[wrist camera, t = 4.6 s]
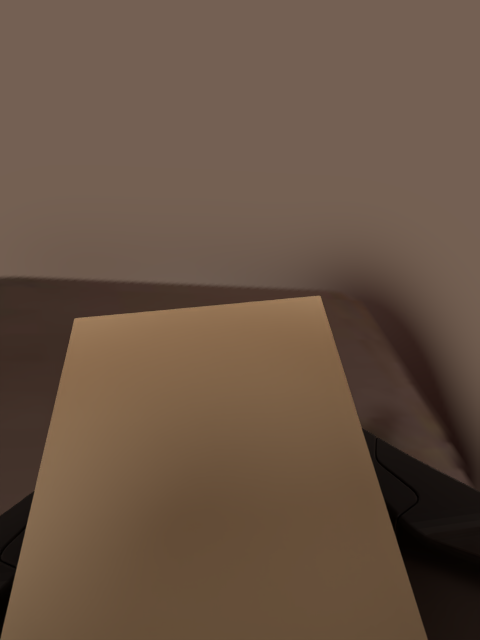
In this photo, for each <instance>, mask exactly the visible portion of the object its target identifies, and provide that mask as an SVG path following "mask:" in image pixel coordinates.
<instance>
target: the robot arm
mask: <svg viewBox="0 0 480 640" xmlns="http://www.w3.org/2000/svg"><path fill="white" fill-rule="evenodd" d="M362 431H363V434H364V437H365V441H366V444H367V447H368V450H369V453H370V457H371V460H372V463H373V466H374V469H375V473H376V476H377V479H378V482H379V485H380V489H381V492H382V495H383V498H384V501H385V504H386V508H387V511H388V514H389V517H390V520H391V524H392V527H393V530H394V533H395V536H396V540H397V543H398V546H399V549H400V552H401V556H402V559H403V562H404V565H405V568H406V572H407V575H408V578H409V581H410V584H411V588H412V591H413V594H414V597H415V600H416V604H417V607H418V610H419V613H420V616H421V620H422V623H423V626H424V629H425V632H426V636H427V639H428V640H480V491H478V490H476V489H474V488H472V487H470V486H468V485H466V484H464V483H462V482H460V481H458V480H456V479H454V478H452V477H450V476H448V475H446V474H444V473H442V472H440V471H438V470H436V469H434V468H432V467H430V466H428V465H427V464H425V463H423V462H421V461H419V460H417V459H415V458H413V457H411V456H409V455H408V454H406V453H404V452H402V451H401V450H399V449H397V448H395V447H394V446H392V445H390V444H388V443H387V442H385V441H383V440H382V439H380V438H377V439H376V436H375V435H373V434H371V433H370V432H368V431H366V430H365V429H363V428H362ZM34 492H35V491H33V492H32V493H31V494H29V495H28V496H27V497H25V498H24V499H23V500H21V501H20V502H19V503H17V504H16V505H15V506H13V507H12V508H11V509H9V510H8V511H6V512H5V513H4V514H2V515H1V516H0V638H1V634H2V630H3V625H4V621H5V617H6V612H7V608H8V604H9V599H10V595H11V591H12V586H13V582H14V578H15V574H16V569H17V565H18V561H19V556H20V552H21V548H22V543H23V539H24V535H25V530H26V526H27V522H28V518H29V513H30V509H31V505H32V500H33V496H34Z"/></svg>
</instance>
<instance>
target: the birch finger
mask: <svg viewBox="0 0 480 640" xmlns="http://www.w3.org/2000/svg"><path fill="white" fill-rule="evenodd" d="M0 640H428V639H427V636H426V632H425V629H424V626H423V623H422V620H421V616H420V613H419V610H418V607H417V604H416V600H415V597H414V594H413V591H412V588H411V584H410V581H409V578H408V575H407V572H406V568H405V565H404V562H403V559H402V556H401V552H400V549H399V546H398V543H397V540H396V536H395V533H394V530H393V527H392V524H391V520H390V517H389V514H388V511H387V508H386V504H385V501H384V498H383V495H382V492H381V489H380V485H379V482H378V479H377V476H376V473H375V469H374V466H373V463H372V460H371V457H370V453H369V450H368V447H367V444H366V441H365V437H364V434H363V431H362V428H361V425H360V421H359V418H358V415H357V412H356V409H355V405H354V402H353V399H352V396H351V393H350V389H349V386H348V383H347V380H346V377H345V373H344V370H343V367H342V364H341V361H340V357H339V354H338V351H337V348H336V345H335V341H334V338H333V335H332V332H331V329H330V325H329V322H328V319H327V316H326V313H325V310H324V306H323V303H322V300H321V297H320V296H312V297H301V298H290V299H279V300H269V301H258V302H247V303H236V304H225V305H215V306H204V307H193V308H182V309H172V310H161V311H150V312H139V313H129V314H118V315H107V316H96V317H85V318H75V319H74V324H73V328H72V332H71V337H70V341H69V345H68V350H67V354H66V358H65V363H64V367H63V371H62V375H61V380H60V384H59V388H58V393H57V397H56V401H55V406H54V410H53V414H52V419H51V423H50V427H49V431H48V436H47V440H46V444H45V449H44V453H43V457H42V462H41V466H40V470H39V474H38V479H37V483H36V487H35V492H34V496H33V500H32V505H31V509H30V513H29V518H28V522H27V526H26V530H25V535H24V539H23V543H22V548H21V552H20V556H19V561H18V565H17V569H16V574H15V578H14V582H13V586H12V591H11V595H10V599H9V604H8V608H7V612H6V617H5V621H4V625H3V630H2V634H1V638H0Z"/></svg>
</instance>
